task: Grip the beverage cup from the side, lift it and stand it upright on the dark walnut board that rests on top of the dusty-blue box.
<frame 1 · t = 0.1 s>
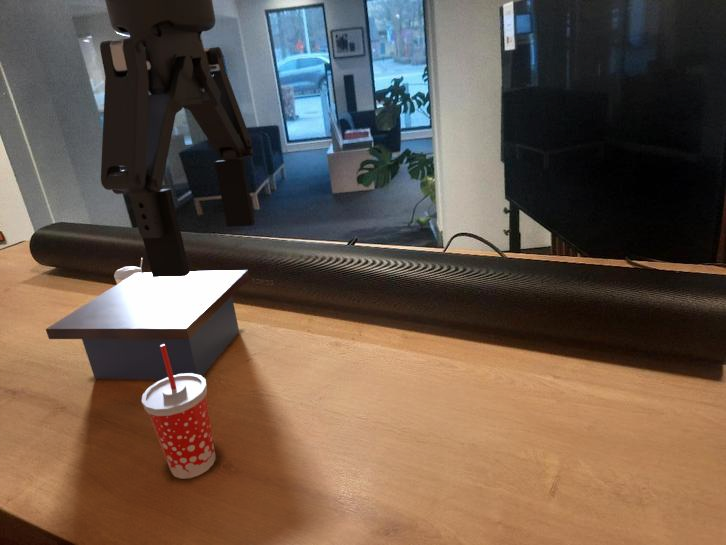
hand: (211, 247, 44), 23 cm above the table, tool pointing down, fingers open, 13 cm apart
board: (159, 305, 72), resting on blue box
milkshake: (141, 314, 90), on the table
blue box: (171, 353, 75), on the table
beverage cup: (193, 463, 52), on the table
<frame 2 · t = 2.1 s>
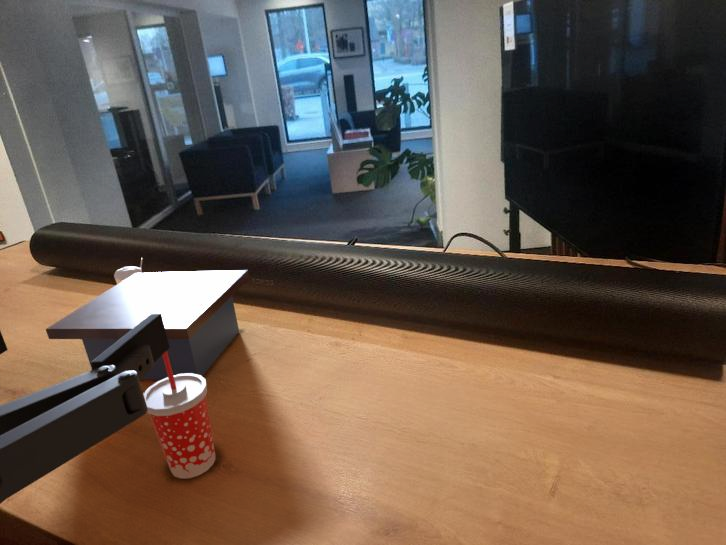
hand: (76, 332, 36), 20 cm above the table, tool horizontal, fingers open, 13 cm apart
nothing on the table moved.
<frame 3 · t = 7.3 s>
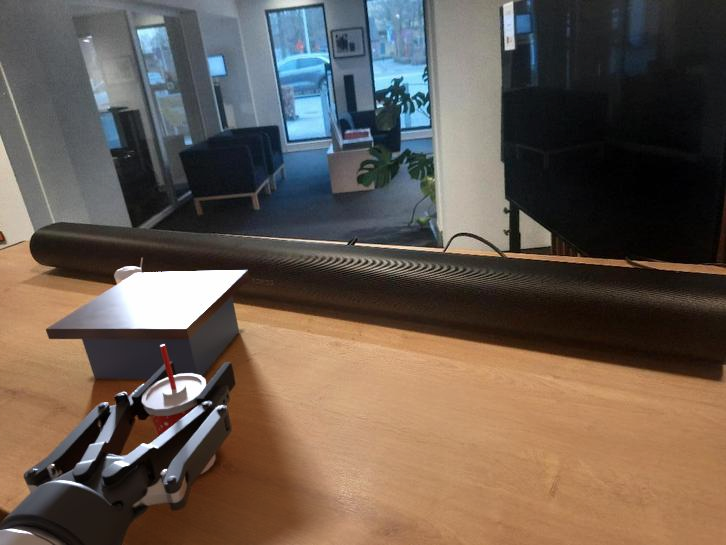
hand: (200, 372, 54), 8 cm above the table, tool horizontal, fingers closed on beverage cup, 6 cm apart
beverage cup: (193, 463, 52), on the table, touching gripper
everything else where it was.
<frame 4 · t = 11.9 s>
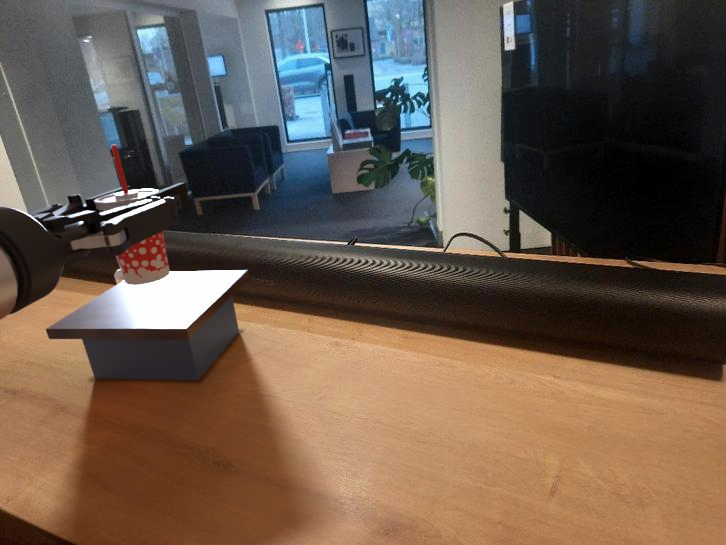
hand: (156, 196, 56), 26 cm above the table, tool horizontal, fingers closed on beverage cup, 6 cm apart
beverage cup: (148, 278, 54), point 18 cm above the table, touching gripper
everything else where it was.
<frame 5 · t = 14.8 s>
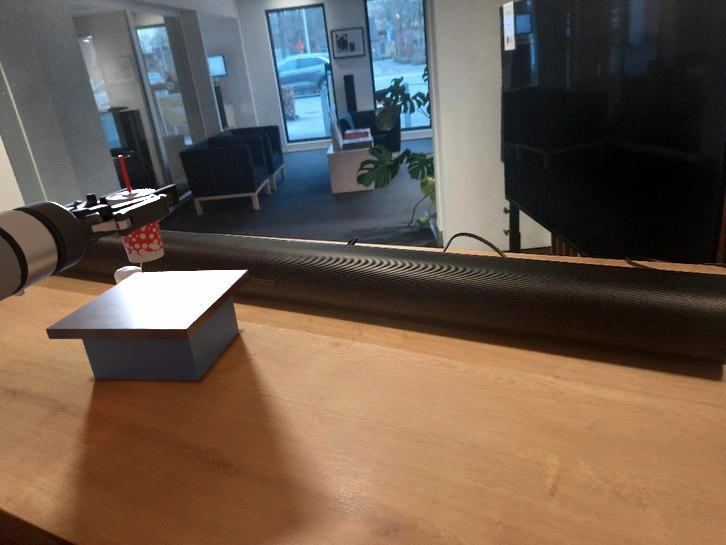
hand: (153, 195, 71), 23 cm above the table, tool horizontal, fingers closed on beverage cup, 6 cm apart
beverage cup: (147, 258, 69), point 15 cm above the table, touching gripper
everything else where it was.
when the fingers open (17 cm above the table, at t = 16.9 s): beverage cup stays where it is, resting on board.
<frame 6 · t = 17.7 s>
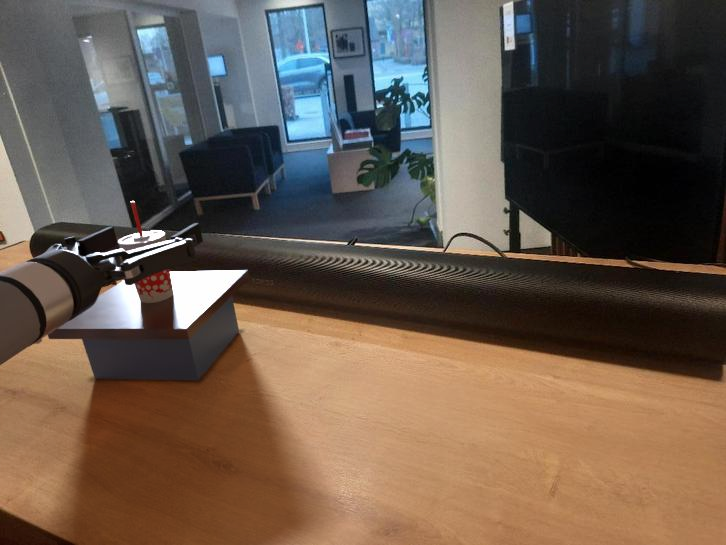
hand: (155, 234, 72), 18 cm above the table, tool horizontal, fingers open, 13 cm apart
beverage cup: (157, 297, 72), point 9 cm above the table, touching board
everything else where it was.
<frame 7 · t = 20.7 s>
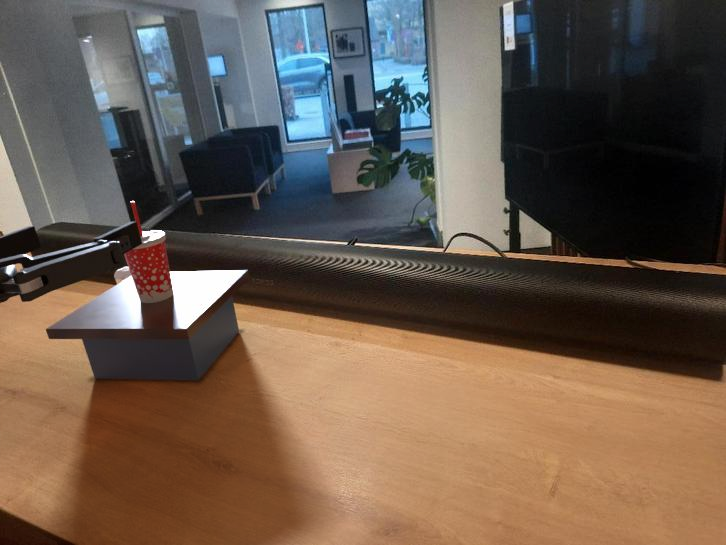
hand: (85, 234, 59), 22 cm above the table, tool horizontal, fingers open, 13 cm apart
nothing on the table moved.
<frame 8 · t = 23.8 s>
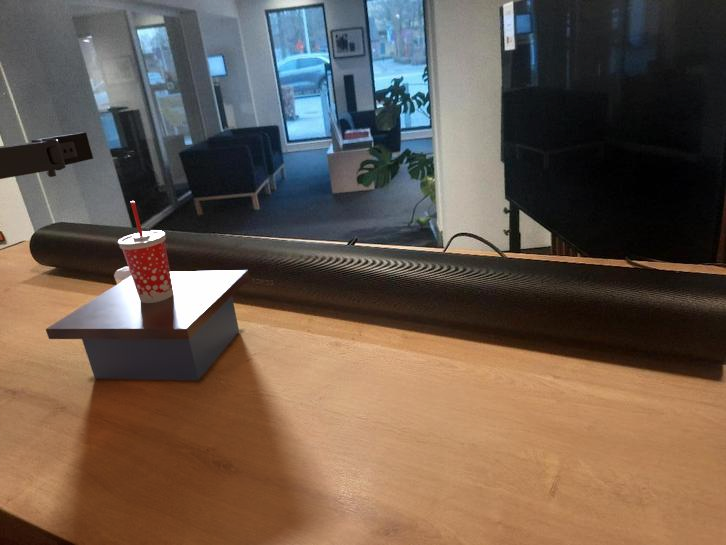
hand: (31, 150, 53), 32 cm above the table, tool horizontal, fingers open, 13 cm apart
nothing on the table moved.
at the end: beverage cup inside the target area on the board (0.1 cm from its centre), point 1.3 cm above the board's base; beverage cup tilted 0°; the gripper is holding nothing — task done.
